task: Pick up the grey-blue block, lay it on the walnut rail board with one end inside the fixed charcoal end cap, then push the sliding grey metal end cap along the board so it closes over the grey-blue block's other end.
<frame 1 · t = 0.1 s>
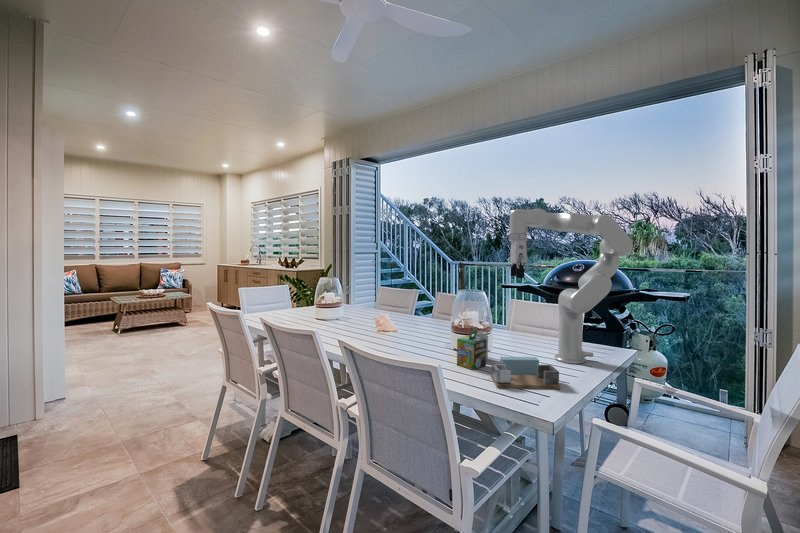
hand: (517, 276, 174), 37 cm above the table, tool pointing down, fingers open, 9 cm apart
board: (524, 383, 145), on the table
grey-blue block: (519, 373, 157), on the table
end cap: (500, 373, 145), point 4 cm above the table, slide at 0.0 cm
chalk box: (471, 365, 167), on the table
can: (479, 359, 176), on the table
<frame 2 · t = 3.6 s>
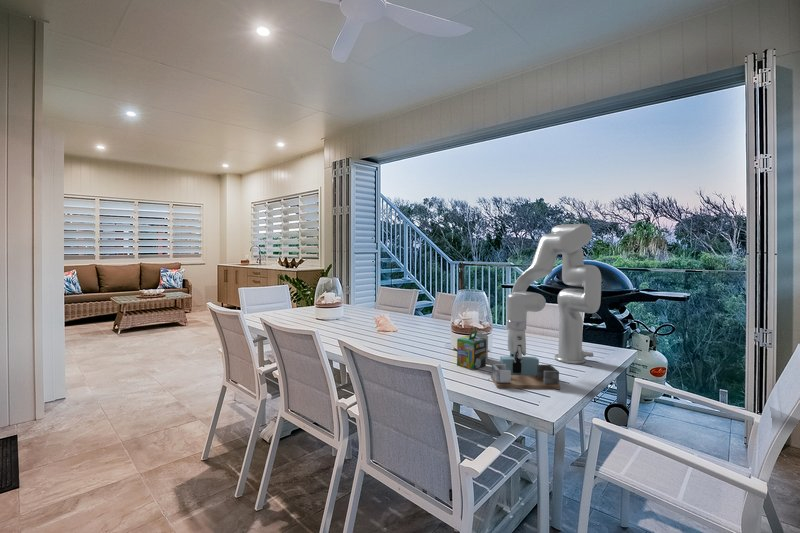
hand: (515, 370, 157), 1 cm above the table, tool pointing down, fingers closed on grey-blue block, 4 cm apart
grey-blue block: (519, 372, 157), on the table, touching gripper
everything else where it was.
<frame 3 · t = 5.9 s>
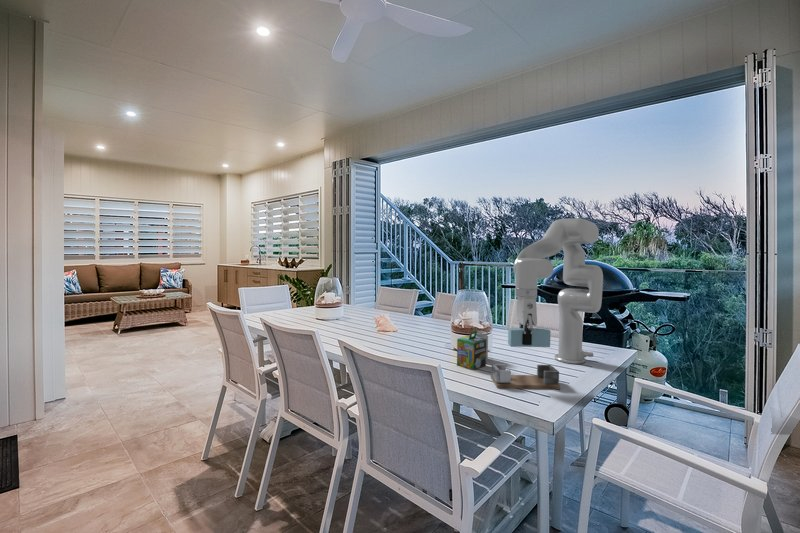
hand: (524, 342, 144), 15 cm above the table, tool pointing down, fingers closed on grey-blue block, 4 cm apart
grey-blue block: (528, 345, 145), point 14 cm above the table, touching gripper
everything else where it was.
when the fingers open (3 cm above the table, at t = 8.3 s): grey-blue block stays where it is, resting on board.
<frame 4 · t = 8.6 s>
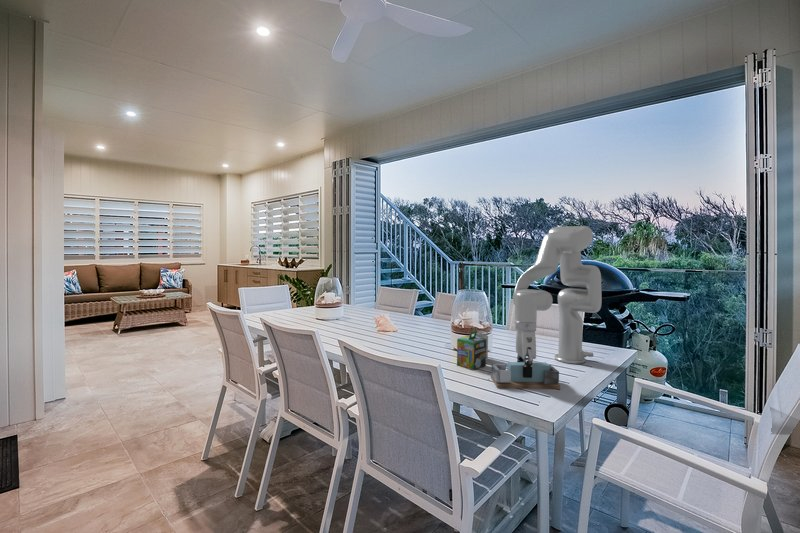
hand: (524, 373, 145), 3 cm above the table, tool pointing down, fingers open, 6 cm apart
grey-blue block: (528, 379, 145), point 1 cm above the table, touching board
everything else where it was.
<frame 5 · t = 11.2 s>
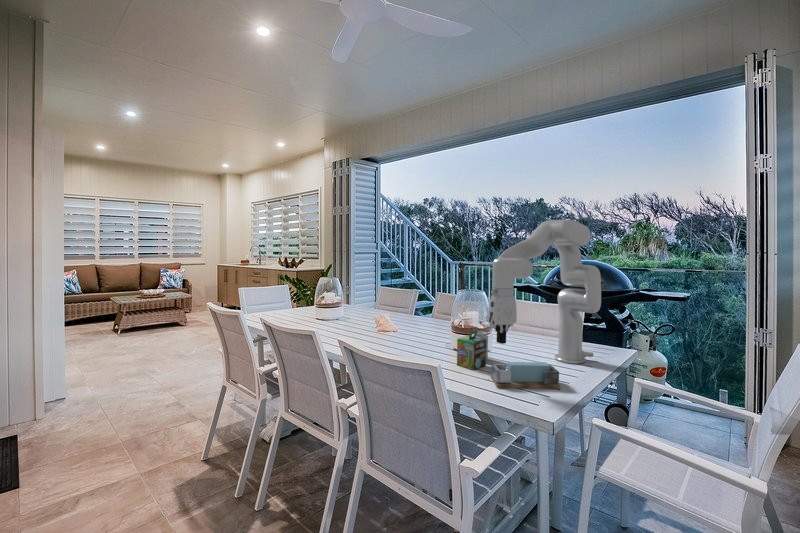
hand: (501, 342, 144), 15 cm above the table, tool pointing down, fingers closed
nothing on the table moved.
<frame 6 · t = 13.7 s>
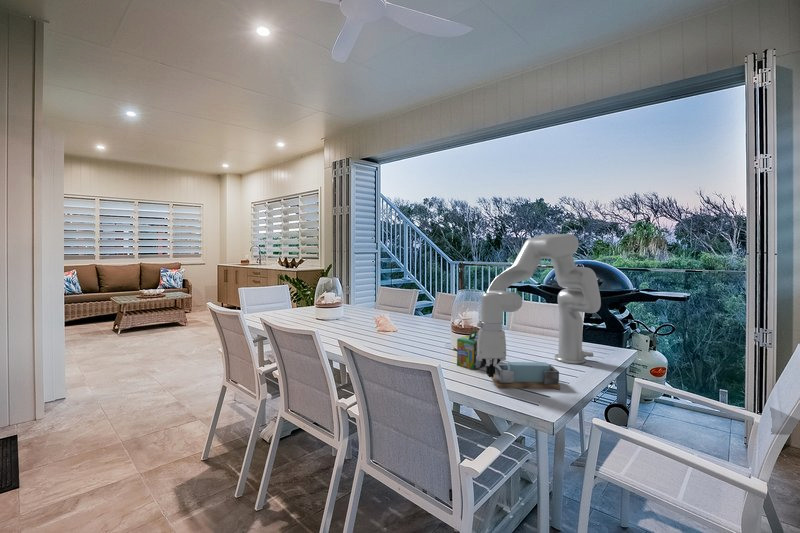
hand: (490, 375, 145), 2 cm above the table, tool pointing down, fingers closed
end cap: (503, 373, 145), point 4 cm above the table, slide at 1.1 cm, touching gripper
everything else where it was.
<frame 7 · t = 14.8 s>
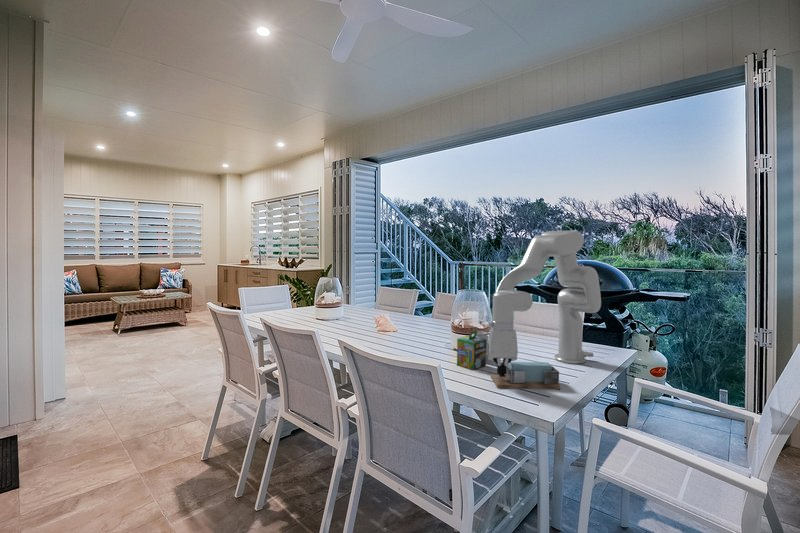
hand: (501, 375, 145), 3 cm above the table, tool pointing down, fingers closed
grey-blue block: (530, 379, 145), point 1 cm above the table, touching board, end cap
end cap: (514, 373, 145), point 4 cm above the table, slide at 5.0 cm, touching gripper, grey-blue block
everything else where it was.
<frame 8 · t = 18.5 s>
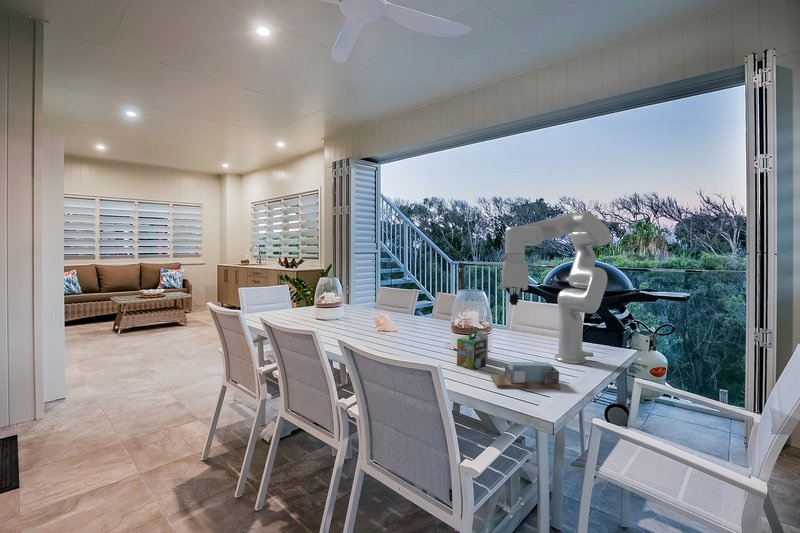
hand: (513, 304, 157), 27 cm above the table, tool pointing down, fingers closed
grey-blue block: (530, 379, 145), point 1 cm above the table, touching board
end cap: (514, 373, 145), point 4 cm above the table, slide at 5.0 cm
everything else where it was.
at the end: end cap slide at 5.0 cm; grey-blue block 0.7 cm from the target spot on the board, point 1.2 cm above the board's base; grey-blue block tilted 0° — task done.
